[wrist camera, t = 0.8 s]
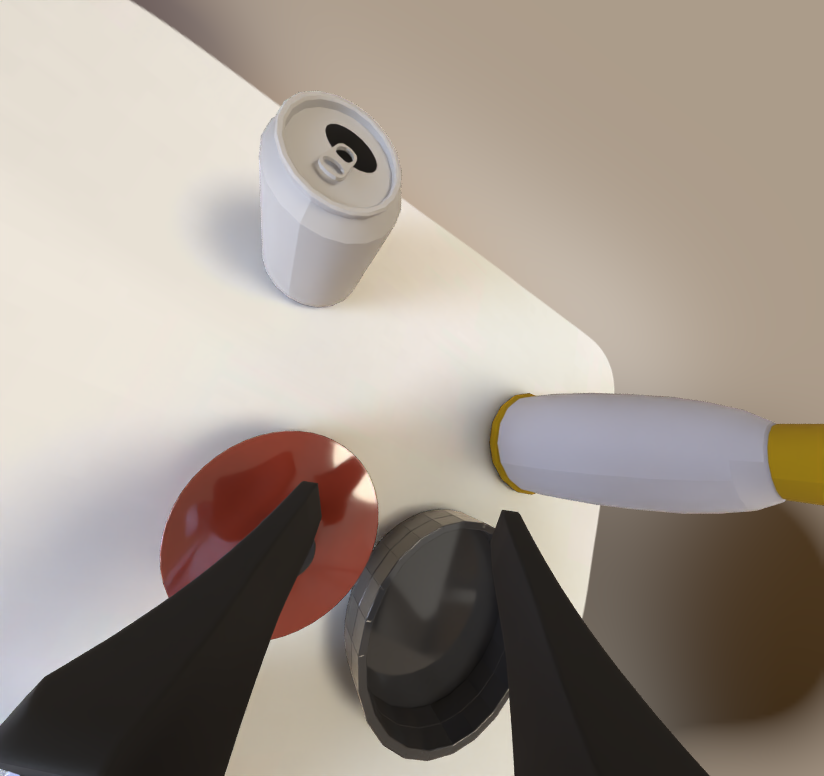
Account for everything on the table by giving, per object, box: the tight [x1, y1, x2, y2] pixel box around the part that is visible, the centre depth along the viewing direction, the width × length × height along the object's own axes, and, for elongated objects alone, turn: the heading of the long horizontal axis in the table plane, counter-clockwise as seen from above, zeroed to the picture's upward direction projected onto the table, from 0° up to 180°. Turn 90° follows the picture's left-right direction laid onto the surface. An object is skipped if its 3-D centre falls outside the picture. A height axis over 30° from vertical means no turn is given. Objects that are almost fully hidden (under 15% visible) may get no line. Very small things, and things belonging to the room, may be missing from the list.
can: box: [259, 91, 402, 307], centre depth 19 cm, size 8×8×12 cm
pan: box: [344, 509, 509, 761], centre depth 25 cm, size 16×16×4 cm
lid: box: [160, 431, 378, 640], centre depth 16 cm, size 11×11×4 cm
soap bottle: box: [490, 393, 824, 513], centre depth 22 cm, size 11×12×26 cm
